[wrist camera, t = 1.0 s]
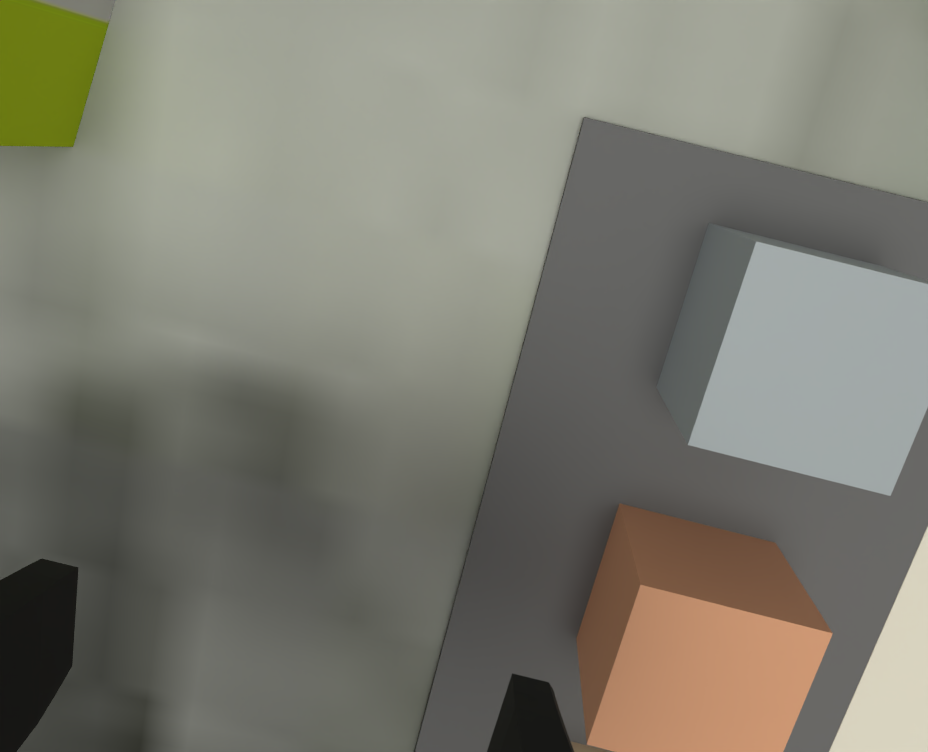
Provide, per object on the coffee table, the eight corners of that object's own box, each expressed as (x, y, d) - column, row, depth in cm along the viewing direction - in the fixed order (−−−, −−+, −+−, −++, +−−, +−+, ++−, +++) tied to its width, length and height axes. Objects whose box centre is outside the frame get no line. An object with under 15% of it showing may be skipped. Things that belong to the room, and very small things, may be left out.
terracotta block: (724, 676, 24) (766, 790, 20) (576, 639, 24) (586, 744, 20) (775, 542, 23) (833, 633, 19) (619, 503, 23) (640, 584, 19)
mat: (1033, 1020, 27) (1039, 1030, 27) (387, 853, 27) (385, 861, 27) (1439, 329, 20) (1452, 332, 20) (583, 117, 21) (584, 117, 20)
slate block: (818, 428, 22) (890, 496, 18) (656, 387, 22) (687, 444, 18) (881, 266, 21) (974, 295, 16) (708, 223, 21) (756, 241, 16)
